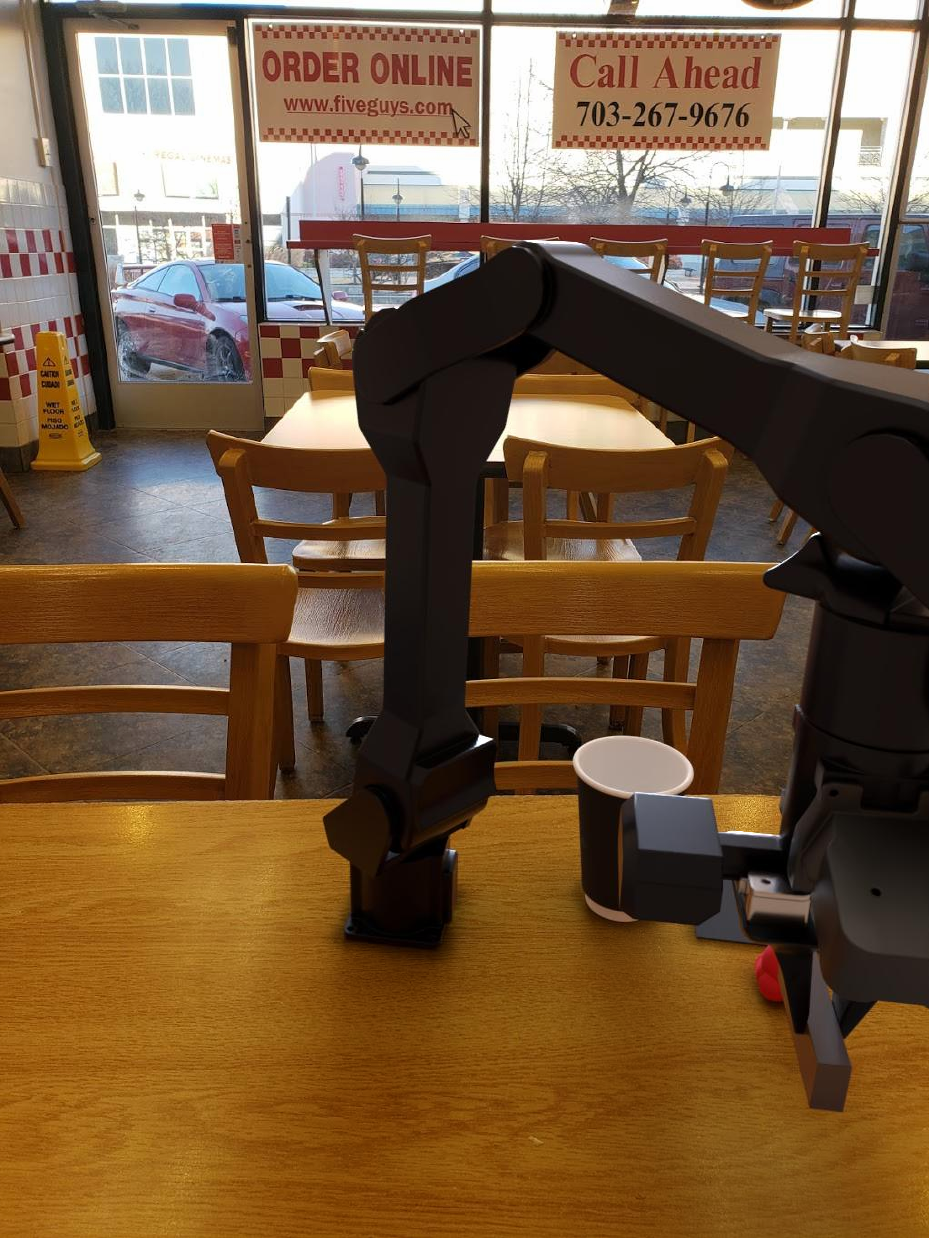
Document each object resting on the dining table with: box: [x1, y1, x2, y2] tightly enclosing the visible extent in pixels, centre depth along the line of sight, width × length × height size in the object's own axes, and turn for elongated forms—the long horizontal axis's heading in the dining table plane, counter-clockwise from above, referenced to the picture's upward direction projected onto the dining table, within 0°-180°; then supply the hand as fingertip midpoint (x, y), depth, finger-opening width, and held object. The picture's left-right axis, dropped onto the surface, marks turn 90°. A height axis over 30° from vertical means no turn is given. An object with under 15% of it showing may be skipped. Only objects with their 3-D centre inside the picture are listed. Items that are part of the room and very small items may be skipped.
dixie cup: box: [572, 735, 695, 923], centre depth 64 cm, size 8×8×11 cm
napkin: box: [694, 880, 819, 953], centre depth 67 cm, size 10×10×1 cm
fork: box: [778, 951, 853, 1113], centre depth 46 cm, size 15×3×2 cm, turn 172°
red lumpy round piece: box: [754, 945, 784, 1003], centre depth 58 cm, size 4×3×4 cm
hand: (816, 1029), depth 42 cm, fingers closed on fork, 1 cm apart
